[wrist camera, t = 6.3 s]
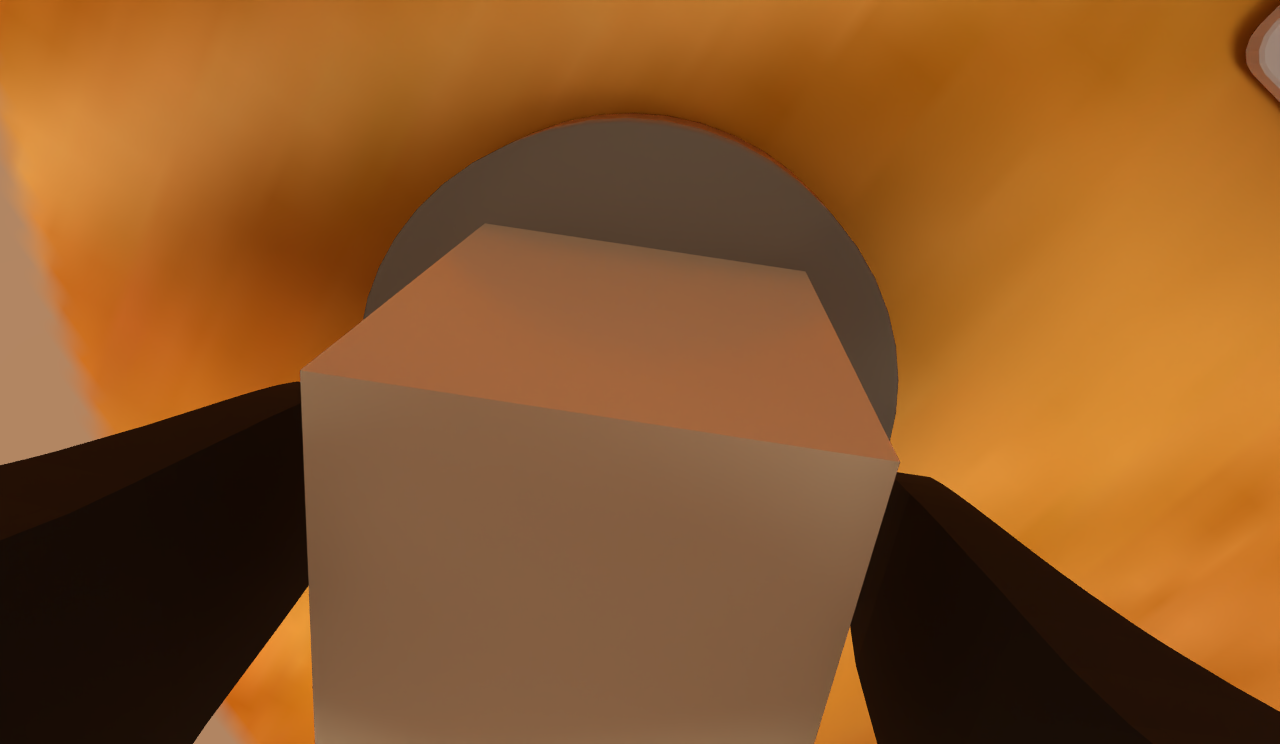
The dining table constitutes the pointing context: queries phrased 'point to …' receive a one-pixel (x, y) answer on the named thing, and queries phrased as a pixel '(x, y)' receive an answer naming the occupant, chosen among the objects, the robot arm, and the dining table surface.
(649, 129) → the slate trivet
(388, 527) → the cream block
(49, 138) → the dining table surface
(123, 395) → the dining table surface
